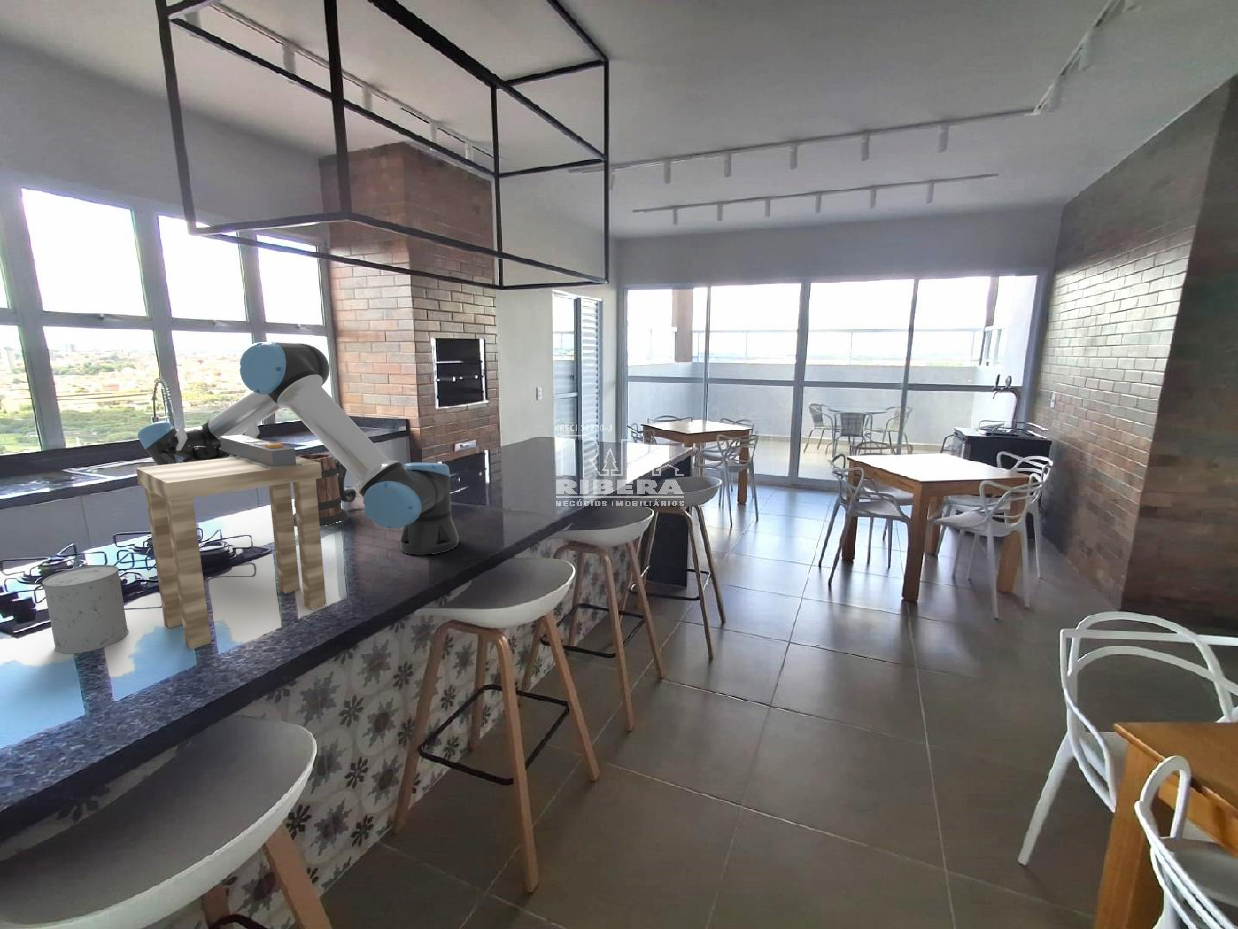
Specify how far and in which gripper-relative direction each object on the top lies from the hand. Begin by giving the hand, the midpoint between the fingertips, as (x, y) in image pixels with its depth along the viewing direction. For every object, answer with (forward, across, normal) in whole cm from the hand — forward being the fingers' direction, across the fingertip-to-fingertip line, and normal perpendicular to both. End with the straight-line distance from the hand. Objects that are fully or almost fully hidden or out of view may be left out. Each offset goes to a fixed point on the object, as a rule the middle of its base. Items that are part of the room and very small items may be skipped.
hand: (221, 429), depth 121 cm
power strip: (+14, 0, -12) cm, 18 cm away
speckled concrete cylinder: (-5, +27, -36) cm, 46 cm away
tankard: (-45, -36, -13) cm, 59 cm away
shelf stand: (+3, +6, -41) cm, 42 cm away
